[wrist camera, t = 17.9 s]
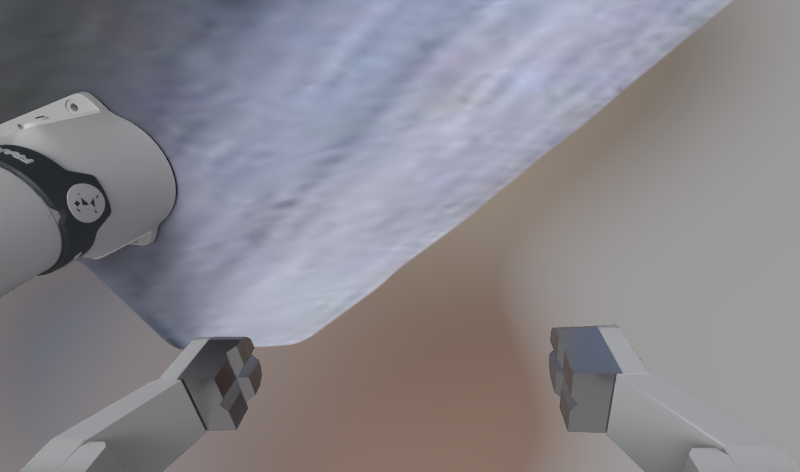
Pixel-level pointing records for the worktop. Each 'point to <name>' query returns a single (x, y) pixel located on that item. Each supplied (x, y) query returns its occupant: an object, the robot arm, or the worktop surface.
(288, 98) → the worktop surface
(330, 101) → the worktop surface
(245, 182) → the worktop surface
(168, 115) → the worktop surface
